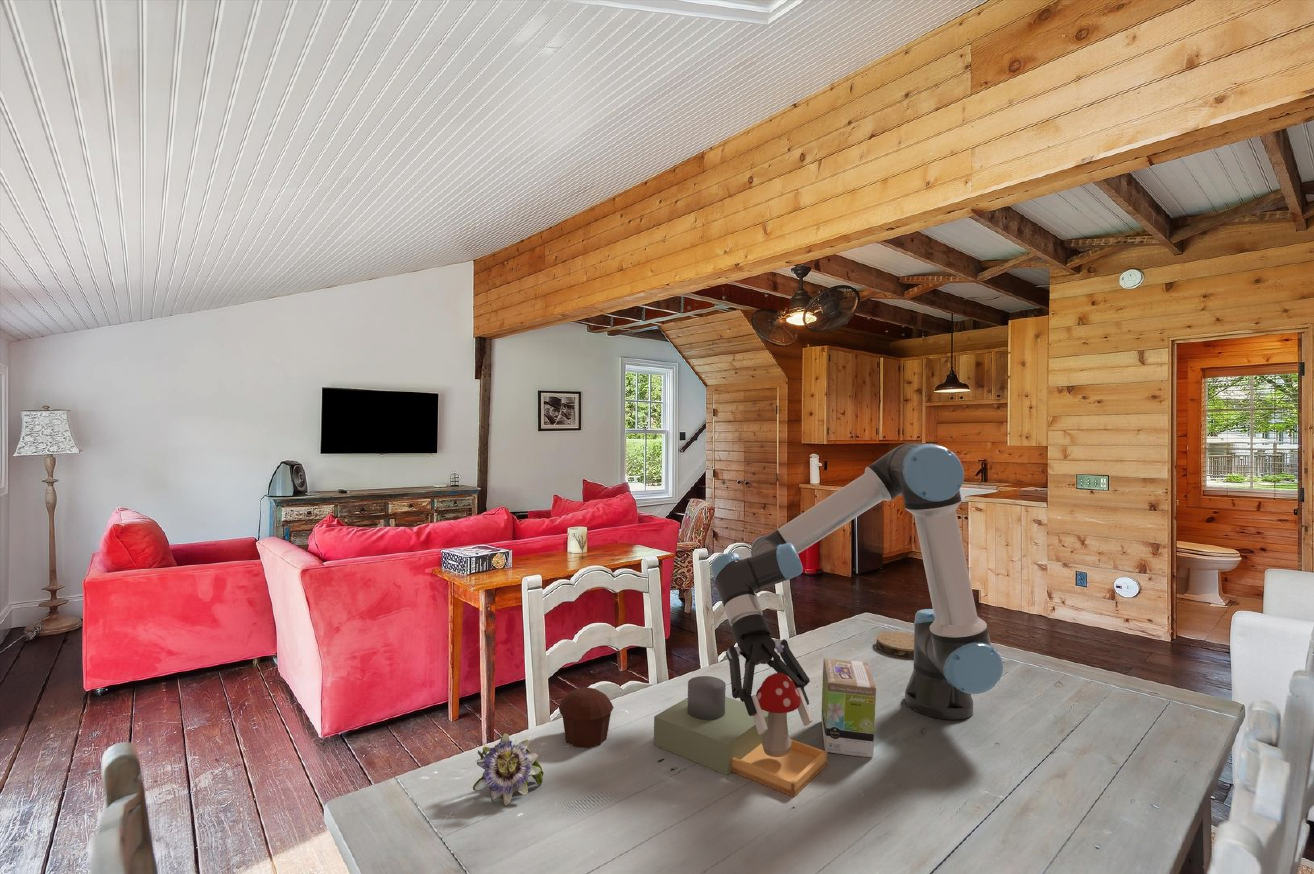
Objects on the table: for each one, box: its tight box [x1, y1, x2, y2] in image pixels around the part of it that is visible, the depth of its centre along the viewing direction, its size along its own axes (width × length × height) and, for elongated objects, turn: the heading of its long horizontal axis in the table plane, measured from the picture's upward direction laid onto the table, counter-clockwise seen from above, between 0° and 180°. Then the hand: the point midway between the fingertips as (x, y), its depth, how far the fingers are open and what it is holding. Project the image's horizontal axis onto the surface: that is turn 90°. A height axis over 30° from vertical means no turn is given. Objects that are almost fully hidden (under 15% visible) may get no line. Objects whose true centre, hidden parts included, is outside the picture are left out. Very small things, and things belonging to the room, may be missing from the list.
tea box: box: [821, 657, 877, 758], centre depth 138 cm, size 15×10×15 cm, turn 168°
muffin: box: [558, 687, 615, 749], centre depth 136 cm, size 12×11×10 cm
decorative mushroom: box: [755, 672, 801, 757], centre depth 126 cm, size 10×9×15 cm
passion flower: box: [472, 732, 545, 807], centre depth 117 cm, size 11×11×12 cm
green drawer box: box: [653, 675, 829, 798], centre depth 131 cm, size 31×18×12 cm, turn 52°
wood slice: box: [875, 631, 914, 660], centre depth 194 cm, size 16×16×3 cm
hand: (786, 727), depth 123 cm, fingers closed on decorative mushroom, 9 cm apart
